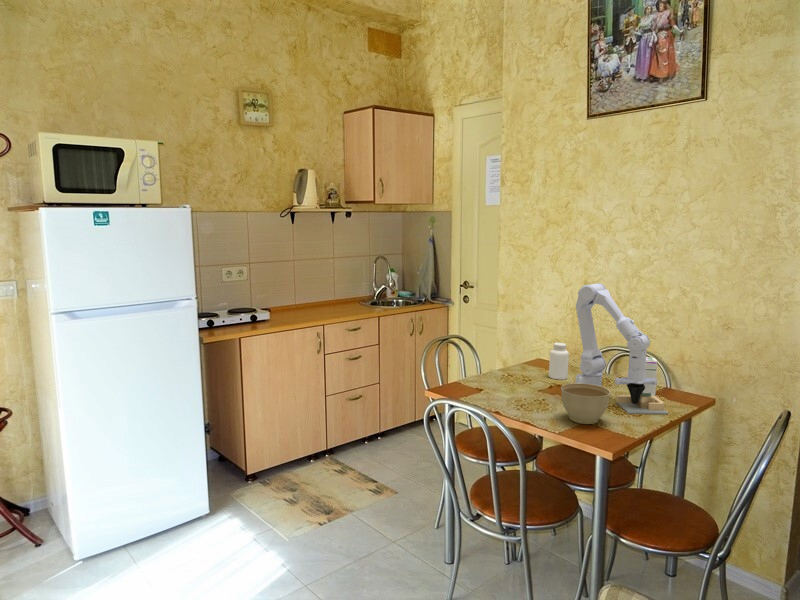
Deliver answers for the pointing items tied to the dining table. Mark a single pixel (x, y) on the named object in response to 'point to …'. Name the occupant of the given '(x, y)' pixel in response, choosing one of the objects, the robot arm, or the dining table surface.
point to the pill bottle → (558, 362)
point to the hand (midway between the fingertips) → (634, 403)
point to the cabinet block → (645, 400)
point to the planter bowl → (585, 402)
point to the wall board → (631, 408)
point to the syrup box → (650, 374)
